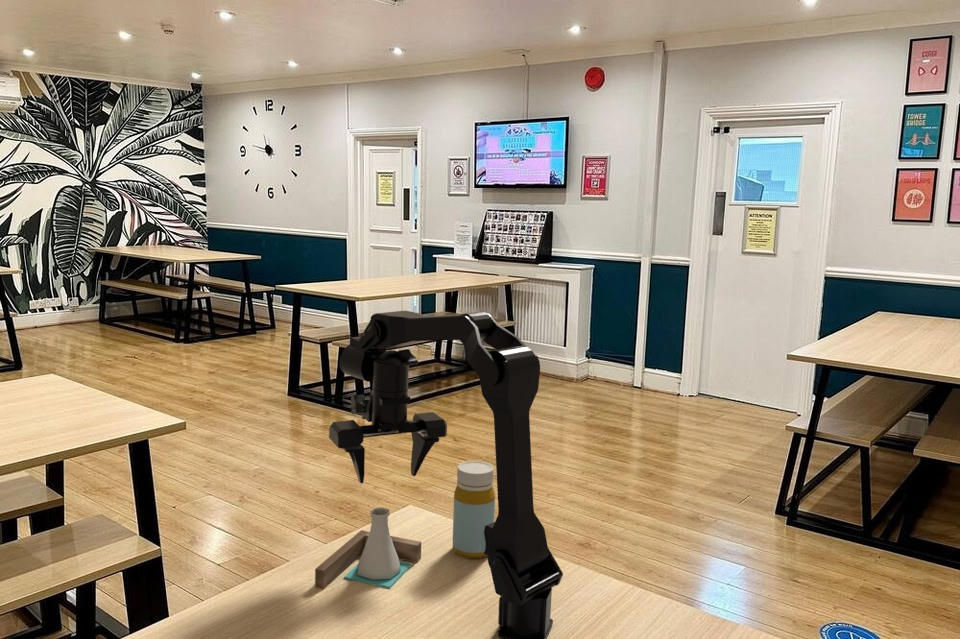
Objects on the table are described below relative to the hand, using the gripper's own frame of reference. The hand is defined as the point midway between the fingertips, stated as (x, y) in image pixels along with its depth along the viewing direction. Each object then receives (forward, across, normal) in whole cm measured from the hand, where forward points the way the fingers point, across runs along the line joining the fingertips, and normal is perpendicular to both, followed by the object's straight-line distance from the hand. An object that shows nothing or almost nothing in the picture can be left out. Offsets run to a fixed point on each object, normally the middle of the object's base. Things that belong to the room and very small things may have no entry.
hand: (387, 478), depth 122 cm
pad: (+13, +3, +5) cm, 15 cm away
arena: (+13, +4, +6) cm, 15 cm away
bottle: (+13, -14, +5) cm, 20 cm away
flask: (+13, +3, +5) cm, 15 cm away
